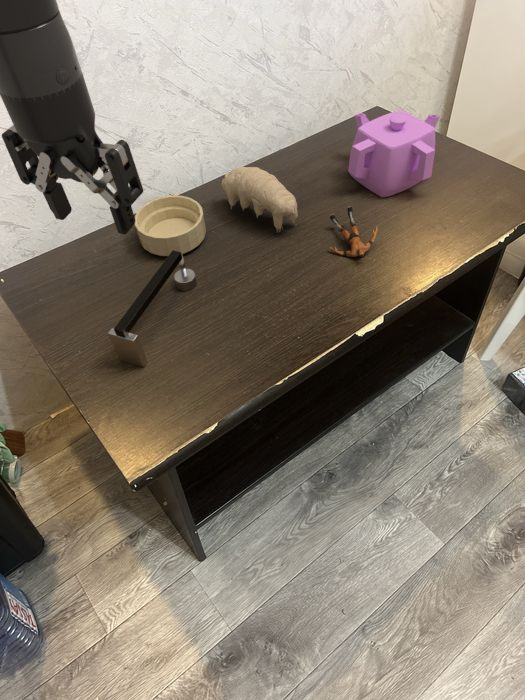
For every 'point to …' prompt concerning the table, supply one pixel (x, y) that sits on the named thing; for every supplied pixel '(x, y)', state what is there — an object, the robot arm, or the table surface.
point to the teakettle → (392, 152)
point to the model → (260, 193)
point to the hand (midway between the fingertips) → (95, 222)
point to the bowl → (170, 225)
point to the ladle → (120, 336)
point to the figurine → (352, 238)
